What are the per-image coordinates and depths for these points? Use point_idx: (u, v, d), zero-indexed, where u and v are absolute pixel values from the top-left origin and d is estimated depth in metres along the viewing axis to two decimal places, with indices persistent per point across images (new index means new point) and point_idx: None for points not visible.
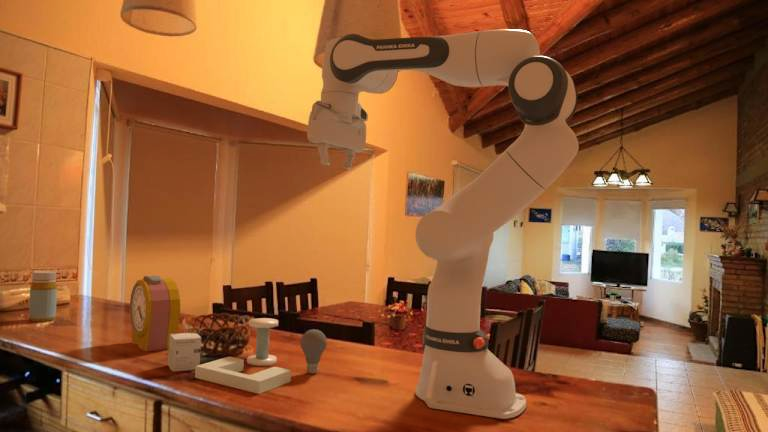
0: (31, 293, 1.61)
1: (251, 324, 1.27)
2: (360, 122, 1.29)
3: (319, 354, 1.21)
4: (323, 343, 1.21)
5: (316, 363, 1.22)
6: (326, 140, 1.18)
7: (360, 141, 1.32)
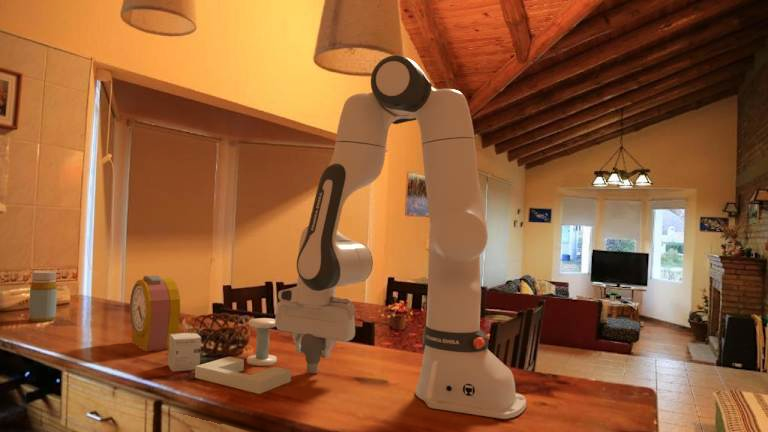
0: (31, 293, 1.61)
1: (251, 324, 1.27)
2: None
3: (319, 354, 1.21)
4: (323, 343, 1.21)
5: (316, 363, 1.22)
6: None
7: None
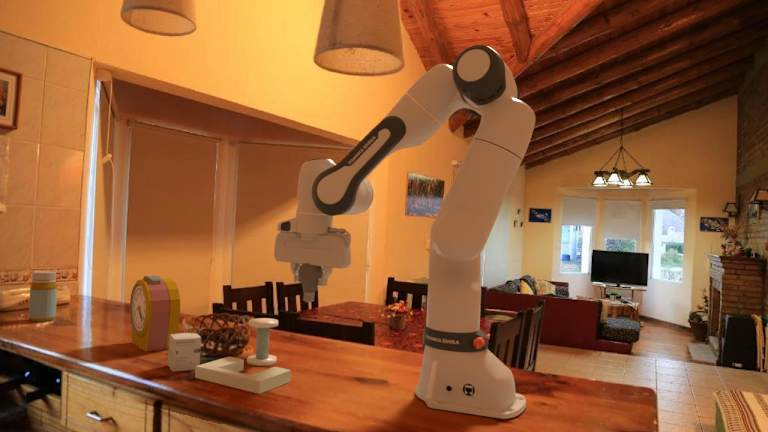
0: (31, 293, 1.61)
1: (251, 324, 1.27)
2: None
3: (316, 283, 1.26)
4: (320, 272, 1.26)
5: (312, 292, 1.27)
6: None
7: None
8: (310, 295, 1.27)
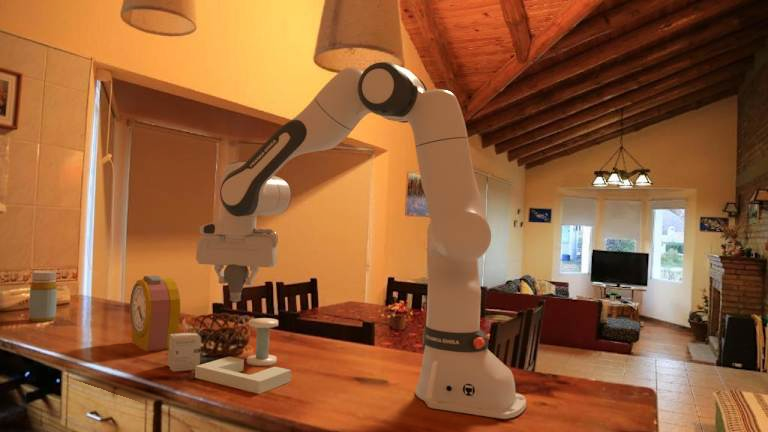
0: (31, 293, 1.61)
1: (251, 324, 1.27)
2: None
3: (243, 283, 1.30)
4: (246, 272, 1.30)
5: (239, 292, 1.31)
6: None
7: None
8: (237, 295, 1.30)
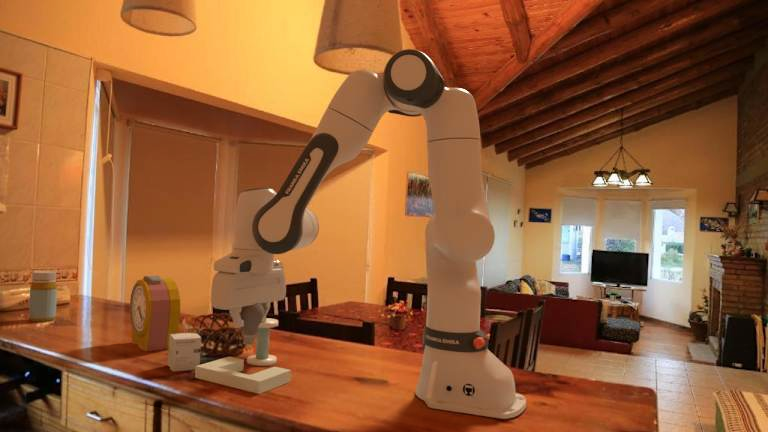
0: (31, 293, 1.61)
1: None
2: None
3: None
4: None
5: None
6: None
7: None
8: None
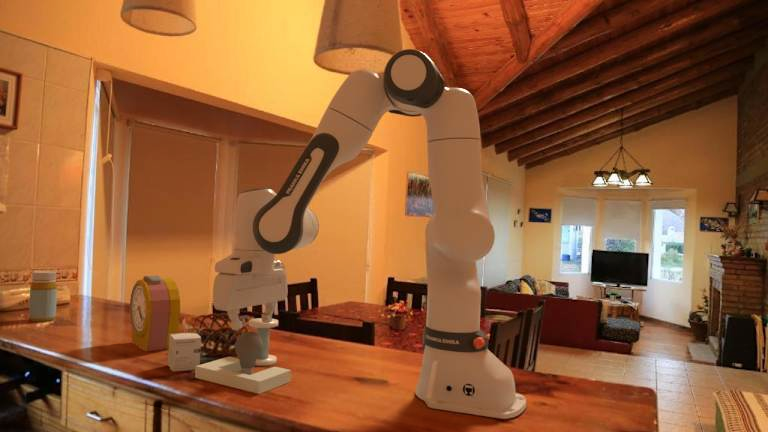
0: (31, 293, 1.61)
1: (251, 324, 1.27)
2: None
3: None
4: None
5: None
6: None
7: None
8: None
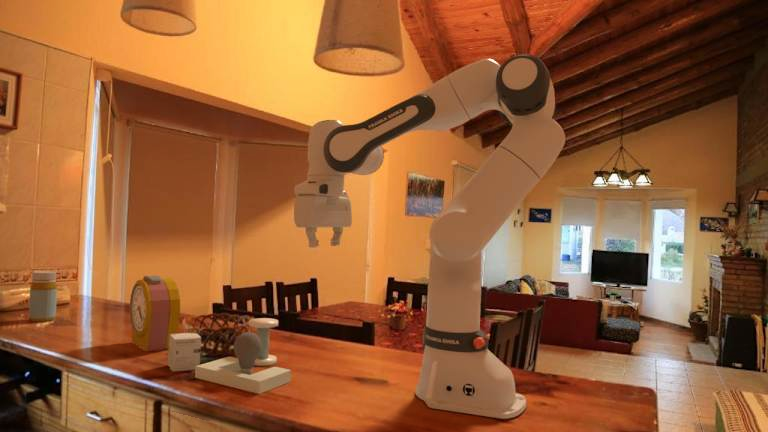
0: (31, 293, 1.61)
1: (251, 324, 1.27)
2: None
3: None
4: None
5: None
6: None
7: None
8: None
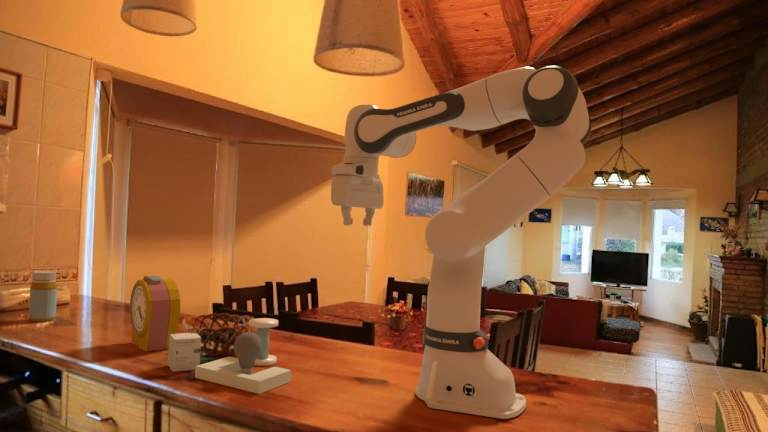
0: (31, 293, 1.61)
1: (251, 324, 1.27)
2: None
3: None
4: None
5: None
6: None
7: None
8: None
